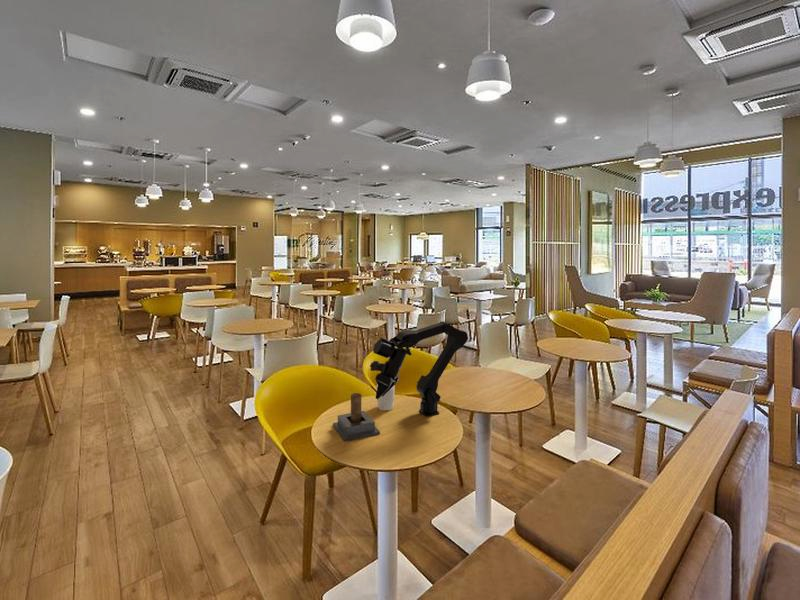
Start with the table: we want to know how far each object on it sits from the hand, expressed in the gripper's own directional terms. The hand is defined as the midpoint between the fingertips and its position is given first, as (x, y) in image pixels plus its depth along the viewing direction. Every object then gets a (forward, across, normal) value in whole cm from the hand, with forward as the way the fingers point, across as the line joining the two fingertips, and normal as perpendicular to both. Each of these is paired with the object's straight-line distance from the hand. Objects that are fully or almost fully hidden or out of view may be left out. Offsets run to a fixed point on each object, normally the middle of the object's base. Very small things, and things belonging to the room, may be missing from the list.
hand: (379, 397), depth 164 cm
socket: (+14, +6, -2) cm, 15 cm away
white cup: (+6, -16, +2) cm, 17 cm away
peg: (+13, +6, -2) cm, 15 cm away
